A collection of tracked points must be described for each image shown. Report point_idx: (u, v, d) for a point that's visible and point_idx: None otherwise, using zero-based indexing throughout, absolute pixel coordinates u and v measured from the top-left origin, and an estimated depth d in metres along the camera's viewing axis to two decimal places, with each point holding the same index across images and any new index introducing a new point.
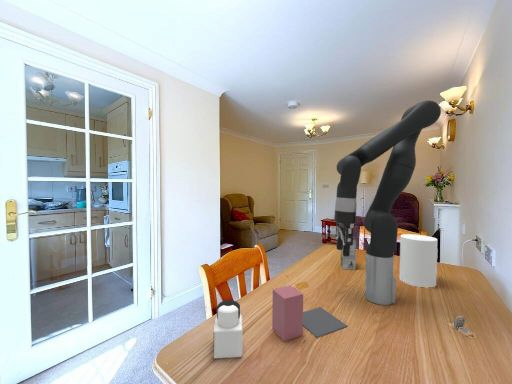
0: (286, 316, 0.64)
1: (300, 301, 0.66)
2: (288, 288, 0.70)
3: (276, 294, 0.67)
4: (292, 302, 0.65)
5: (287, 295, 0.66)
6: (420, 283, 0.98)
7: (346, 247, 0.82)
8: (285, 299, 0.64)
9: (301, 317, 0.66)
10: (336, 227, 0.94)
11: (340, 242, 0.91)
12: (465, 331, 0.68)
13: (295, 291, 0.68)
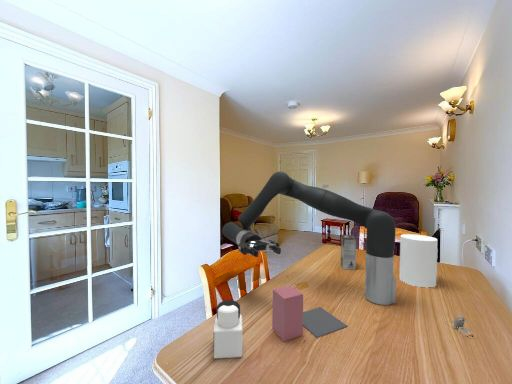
0: (286, 316, 0.64)
1: (300, 301, 0.66)
2: (288, 288, 0.70)
3: (276, 294, 0.67)
4: (292, 302, 0.65)
5: (287, 295, 0.66)
6: (420, 283, 0.98)
7: (250, 252, 0.78)
8: (285, 299, 0.64)
9: (301, 317, 0.66)
10: (272, 247, 0.88)
11: (274, 248, 0.82)
12: (465, 331, 0.68)
13: (295, 291, 0.68)
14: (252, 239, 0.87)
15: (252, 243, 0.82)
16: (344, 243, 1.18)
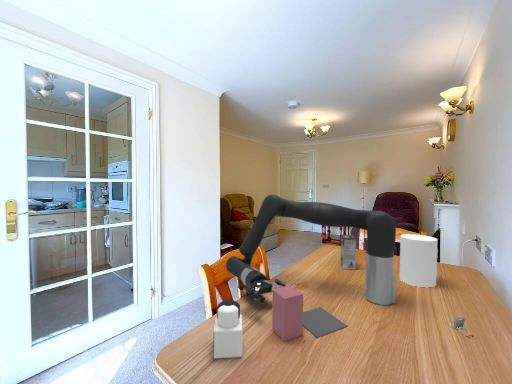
0: (286, 316, 0.64)
1: (300, 301, 0.66)
2: (288, 288, 0.70)
3: (276, 294, 0.67)
4: (292, 302, 0.65)
5: (287, 295, 0.66)
6: (420, 283, 0.98)
7: (256, 298, 0.75)
8: (285, 299, 0.64)
9: (301, 317, 0.66)
10: None
11: None
12: (465, 331, 0.68)
13: (295, 291, 0.68)
14: (257, 279, 0.84)
15: (258, 286, 0.79)
16: (344, 243, 1.18)
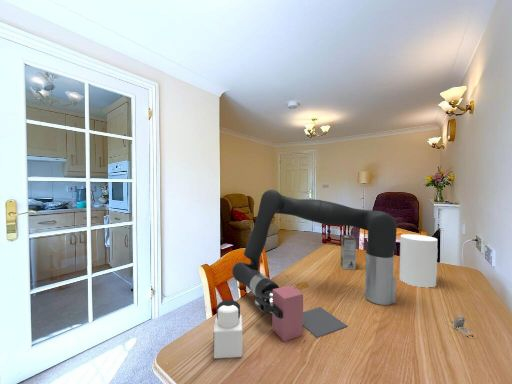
0: (286, 316, 0.64)
1: (300, 301, 0.66)
2: (288, 288, 0.70)
3: (276, 294, 0.67)
4: (292, 302, 0.65)
5: (287, 295, 0.66)
6: (420, 283, 0.98)
7: (272, 311, 0.67)
8: (285, 299, 0.64)
9: (301, 317, 0.66)
10: None
11: None
12: (465, 331, 0.68)
13: (295, 291, 0.68)
14: (269, 289, 0.76)
15: (272, 297, 0.71)
16: (344, 243, 1.18)
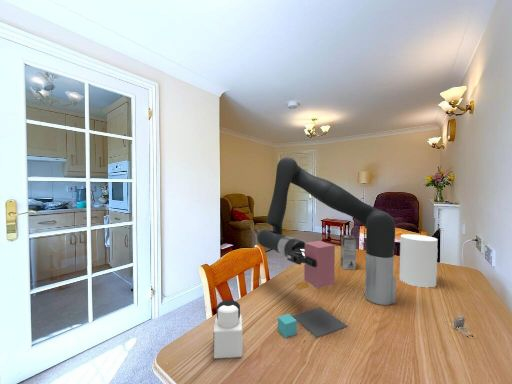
0: (320, 265, 0.69)
1: (332, 252, 0.70)
2: (319, 242, 0.74)
3: (309, 246, 0.72)
4: (325, 252, 0.69)
5: (320, 246, 0.70)
6: (420, 283, 0.98)
7: (306, 262, 0.71)
8: (319, 248, 0.68)
9: (333, 267, 0.71)
10: None
11: None
12: (465, 331, 0.68)
13: (326, 244, 0.72)
14: (298, 246, 0.81)
15: (303, 251, 0.76)
16: (344, 243, 1.18)
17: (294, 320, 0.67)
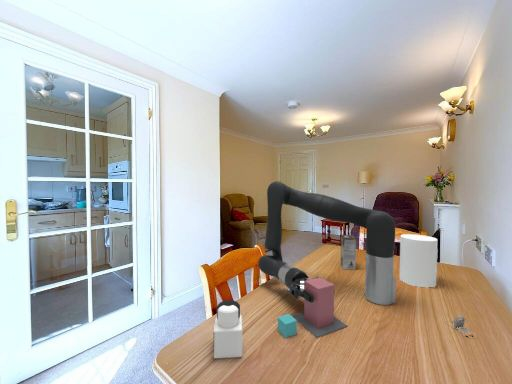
0: (320, 305, 0.69)
1: (331, 292, 0.71)
2: (319, 280, 0.75)
3: (309, 285, 0.73)
4: (324, 292, 0.70)
5: (320, 286, 0.71)
6: (420, 283, 0.98)
7: (303, 296, 0.72)
8: (319, 289, 0.69)
9: (332, 306, 0.72)
10: None
11: None
12: (465, 331, 0.68)
13: (326, 282, 0.73)
14: (299, 277, 0.81)
15: (302, 284, 0.76)
16: (344, 243, 1.18)
17: (294, 320, 0.67)
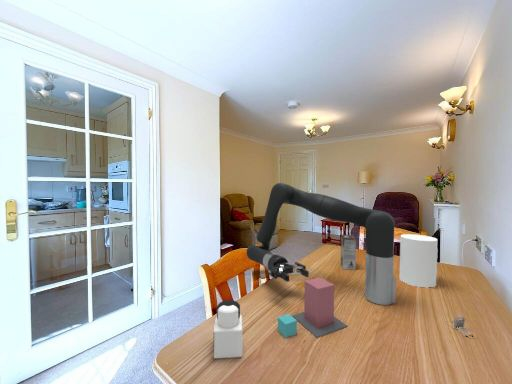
0: (320, 305, 0.69)
1: (331, 292, 0.71)
2: (319, 280, 0.75)
3: (309, 285, 0.73)
4: (324, 292, 0.70)
5: (320, 286, 0.71)
6: (420, 283, 0.98)
7: (281, 276, 0.84)
8: (319, 289, 0.69)
9: (332, 306, 0.72)
10: (298, 269, 0.93)
11: (302, 271, 0.87)
12: (465, 331, 0.68)
13: (326, 282, 0.73)
14: (279, 262, 0.93)
15: (281, 267, 0.88)
16: (344, 243, 1.18)
17: (294, 320, 0.67)
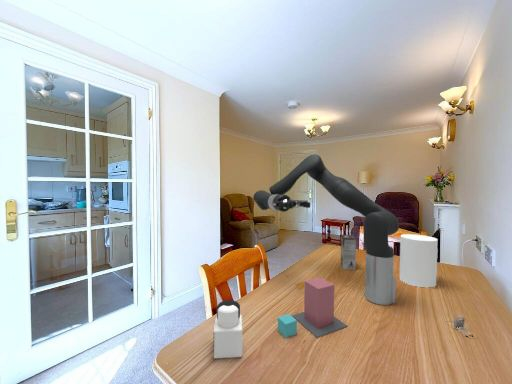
0: (320, 305, 0.69)
1: (331, 292, 0.71)
2: (319, 280, 0.75)
3: (309, 285, 0.73)
4: (324, 292, 0.70)
5: (320, 286, 0.71)
6: (420, 283, 0.98)
7: (285, 206, 0.93)
8: (319, 289, 0.69)
9: (332, 306, 0.72)
10: (300, 206, 1.02)
11: (304, 204, 0.96)
12: (465, 331, 0.68)
13: (326, 282, 0.73)
14: (283, 199, 1.02)
15: (285, 200, 0.97)
16: (344, 243, 1.18)
17: (294, 320, 0.67)
